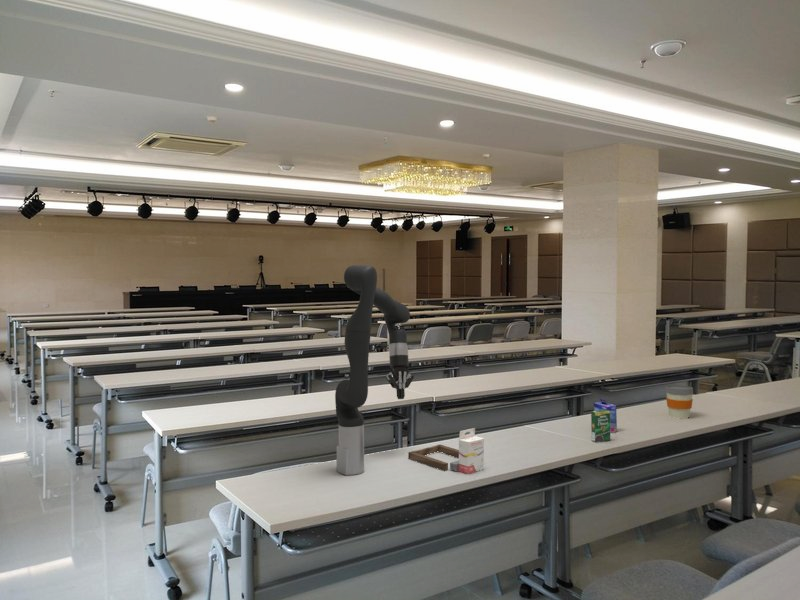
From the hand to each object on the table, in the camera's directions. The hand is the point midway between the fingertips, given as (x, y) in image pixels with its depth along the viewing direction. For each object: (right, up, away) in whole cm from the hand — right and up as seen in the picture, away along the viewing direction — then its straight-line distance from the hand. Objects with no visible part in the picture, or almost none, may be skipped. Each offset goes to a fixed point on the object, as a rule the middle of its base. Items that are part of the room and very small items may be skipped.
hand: (400, 399), depth 236 cm
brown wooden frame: (+16, -23, -4) cm, 28 cm away
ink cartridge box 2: (+94, -21, +40) cm, 104 cm away
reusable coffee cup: (+139, -20, +64) cm, 155 cm away
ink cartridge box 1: (+26, -23, -17) cm, 39 cm away
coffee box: (+86, -22, +21) cm, 91 cm away
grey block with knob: (+24, -23, -14) cm, 36 cm away
